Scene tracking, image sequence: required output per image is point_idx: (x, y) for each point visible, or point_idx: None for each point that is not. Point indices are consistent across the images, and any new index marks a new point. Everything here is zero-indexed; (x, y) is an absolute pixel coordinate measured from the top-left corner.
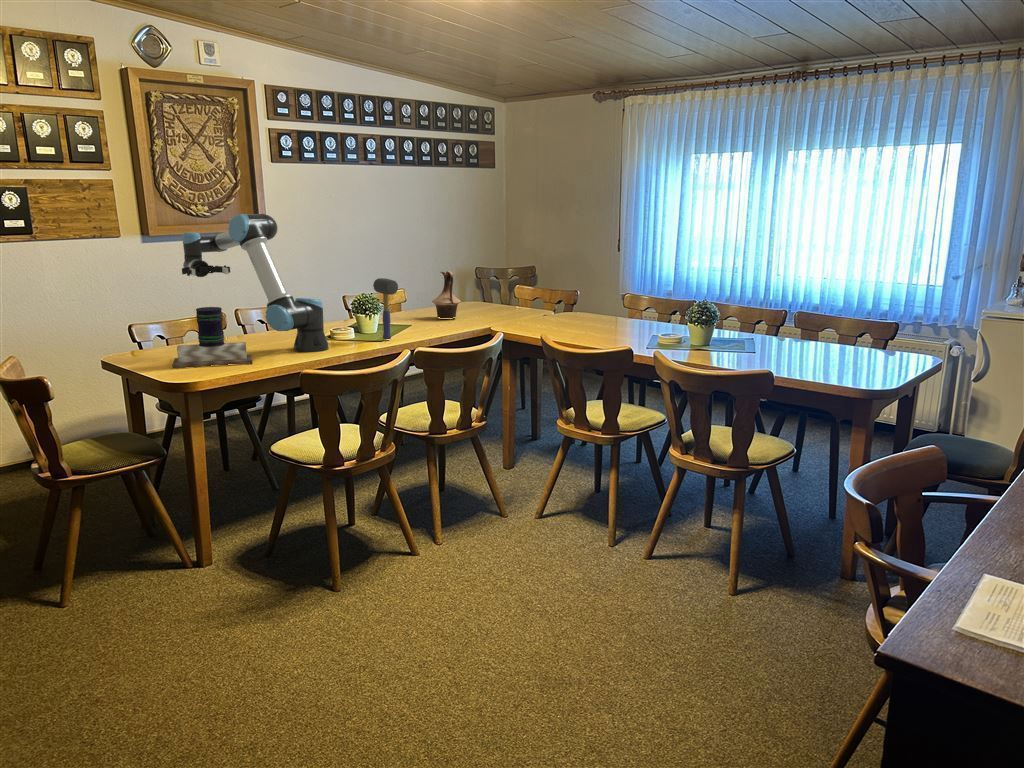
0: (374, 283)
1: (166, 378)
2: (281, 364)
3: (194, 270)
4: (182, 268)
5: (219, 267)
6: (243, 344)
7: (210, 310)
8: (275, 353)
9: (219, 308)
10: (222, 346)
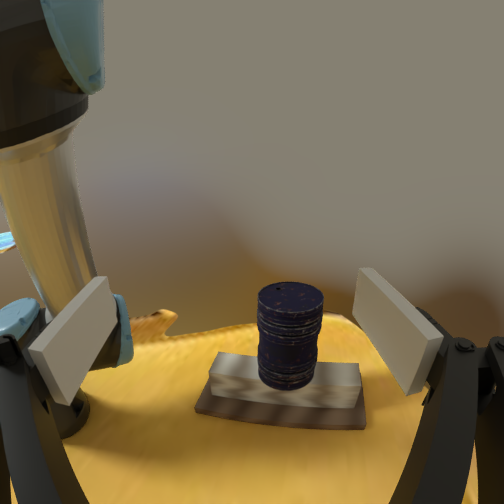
0: None
1: (356, 333)
2: (178, 347)
3: (362, 276)
4: (502, 338)
5: (31, 402)
6: (222, 354)
7: (288, 282)
8: (133, 421)
9: (263, 295)
10: None
